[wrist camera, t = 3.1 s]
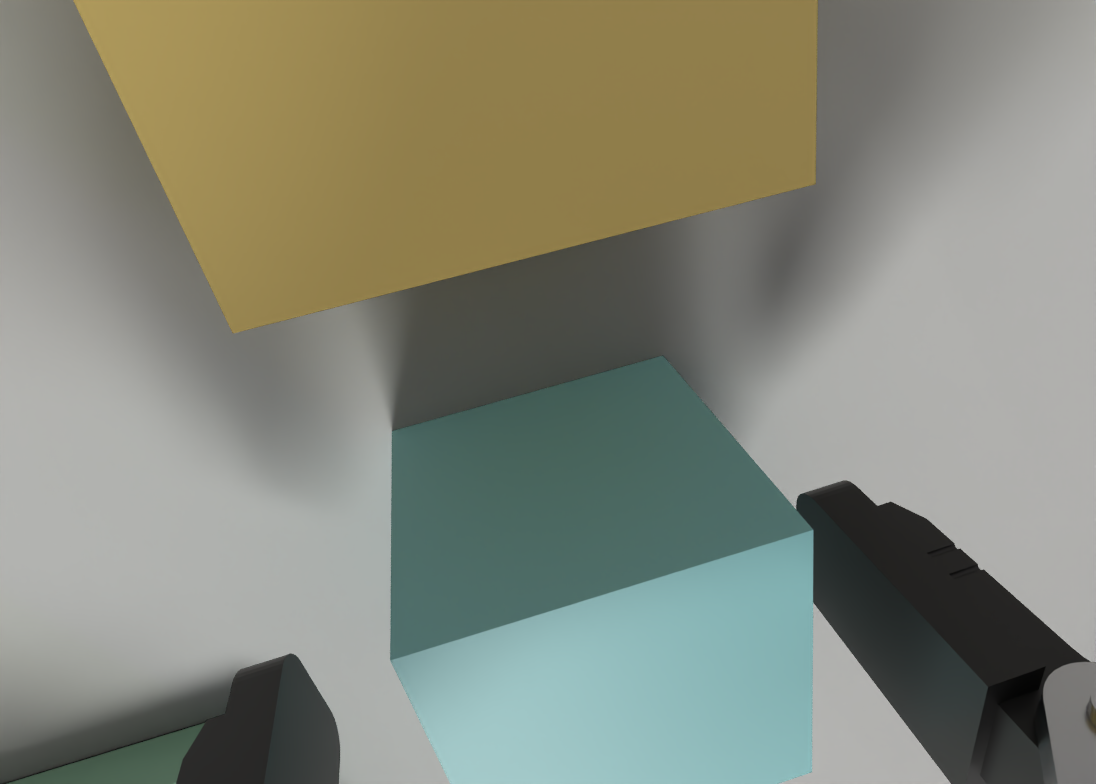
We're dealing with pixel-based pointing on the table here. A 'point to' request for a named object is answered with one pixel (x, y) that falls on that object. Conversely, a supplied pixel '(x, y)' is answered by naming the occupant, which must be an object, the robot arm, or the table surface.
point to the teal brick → (600, 591)
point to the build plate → (126, 763)
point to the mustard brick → (449, 129)
